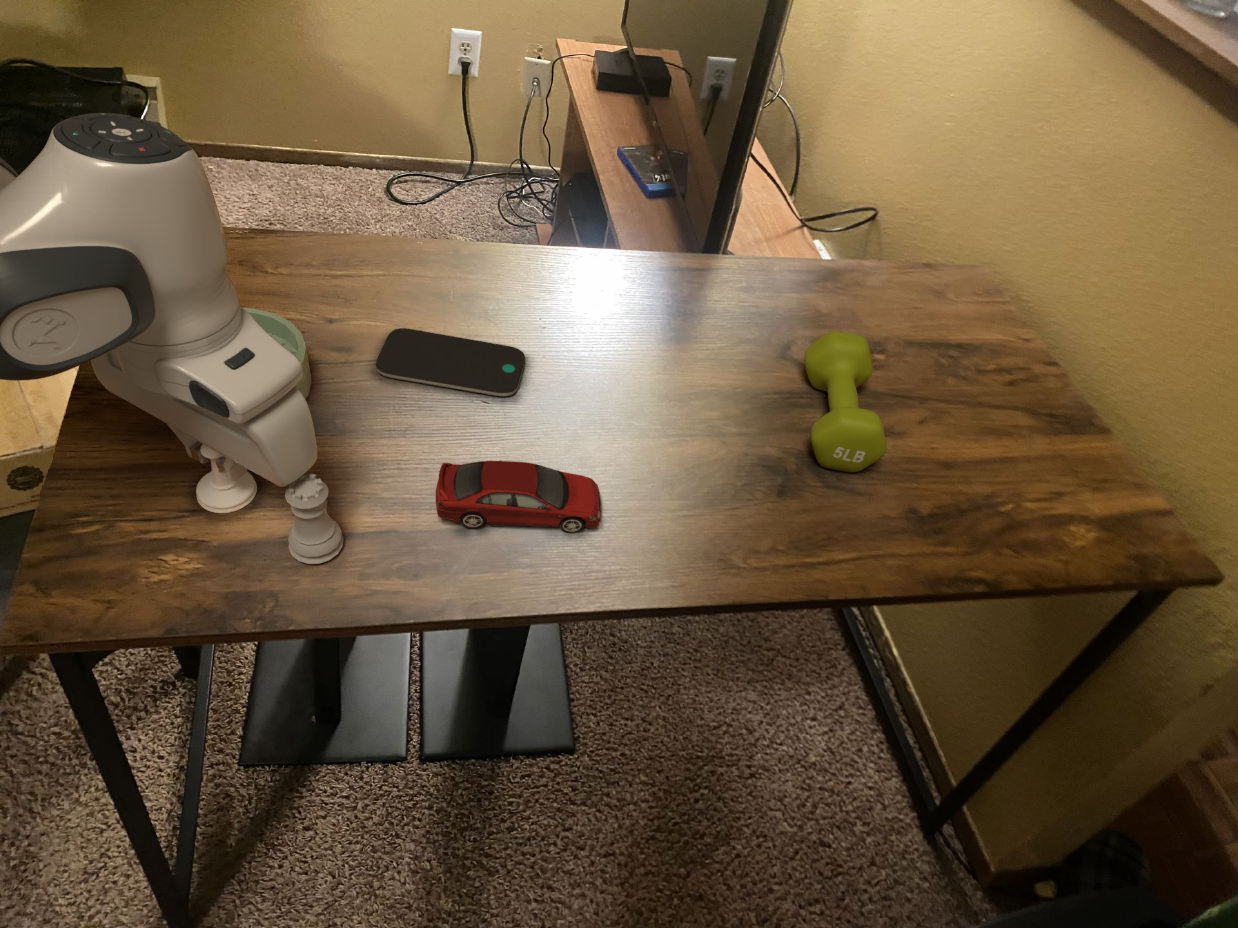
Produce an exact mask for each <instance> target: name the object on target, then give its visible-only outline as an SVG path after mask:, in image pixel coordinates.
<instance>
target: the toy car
mask: <svg viewBox="0 0 1238 928" xmlns="http://www.w3.org/2000/svg"><path fill="white" fill-rule="evenodd" d="M598 485H599V484H598V483H596V482H595V480H594V479H593V478H591V477H589V476H585V475H581V474H577V473H571V472H566V471H561V470H557V469H554V468H550V467H547V466H543V465H540V464H537V463H532V462H526V461H513V460H512V461H511V460H482V461H480V460H479V461H474V462H468V463H463V464H462V463H461V464H459V463H458V464H457V463H450V462H442V464H441V465H440V469H439V471H438V479H437V482H436V487H435V506H436V513H437V516H438V518H439V519H444V520H445V519H446V520H450V521H455V522H459V521H460V523H461V525H462V526H463V527H465V528H468V529H478V528H481V527H483V526H484V525H485V522H486V524H487V525H488V524H489V525H507V526H508V525H509V526H510V525H511V526H531V527H532V526H533V527H550V528H552V527H554V528H559V527H560V529H561V531H563V532H564V533H568V534H575V533H578V532H580V531H582V530H583V529H584V527H585V529H597V528H599V525H600V522H601V517H602V499H601V492H600V489H599V486H598Z"/></svg>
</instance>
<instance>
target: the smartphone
mask: <svg viewBox="0 0 1238 928" xmlns="http://www.w3.org/2000/svg"><path fill="white" fill-rule="evenodd" d="M525 362H526V355H525V353H524V351H522V350H521V349H519V348H517V347H515V346H510V345H505V344H499V343H494V342H487V341H483V340H476V339H471V338H465V337H459V336H453V335H448V334H447V335H446V334H441V333H436V332H431V331H424V330H419V329H414V328H405V327H401V328H395V329H393V330H392V331H390V332H389V334H387V336H386V338H385V341H384V343H383V345H382V347H381V350H380V352H379V354H378V355H377V358H376V362H375V369H376V372H377V373H378V374H380V375H381V376H383V377H386V378H388V379H389V378H390V379H395V380H401V381H406V382H412V383H417V384H423V385H429V386H436V387H441V388H448V389H453V390H458V391H465V392H470V393H471V392H472V393H476V394H482V395H488V396H493V397H510V396H513V395H514V394H516V393H517V391H518V389H519V386H520V383H521V379H522V375H523V371H524V367H525Z"/></svg>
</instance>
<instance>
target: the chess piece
mask: <svg viewBox="0 0 1238 928" xmlns="http://www.w3.org/2000/svg"><path fill="white" fill-rule="evenodd" d="M200 451H201V454H202V455H203V456H204V457H206V458H210V459H209V460H210V467H211V471H209V472H207V474H205V475H203V476H202V477H201V478H200V480H199V481H198V483H197V485H196V487H195V489H196V490H195V494H196V500H197V503H198V504H199V505H200V506H201V508H203V509H204V510H206V511H208V512H211V513H216V514H227V513H234V512H236V511H239V510H241V509H243V508H245V507H246V506H248V505H249V504H251V502H252V501H253V500H254V498H255V497H256V495H257V491H258V486H257V485H258V484H257V482H256V480H255V478H254V476H253V475H252V474H251V473H250V472H249V471H247V472H246V473H245V474H244V475H243V476H241V477H240V478H239V479H238V480H236V481H232V480H230V479H228V478H226V477H225V476H223V475H221V474H220V473H219V472H218V470H219V469H218V468H217V465H216V461H218V460H219V459H220V458H221V457H224V456H222V455H221V454H220V453H219V452H217V451H215V450H213V449H212V448H210V447H208V446H206V445H204V444H202V446H201V450H200Z"/></svg>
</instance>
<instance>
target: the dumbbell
mask: <svg viewBox="0 0 1238 928" xmlns="http://www.w3.org/2000/svg"><path fill="white" fill-rule="evenodd" d="M803 357H804V358H803V360H804V366H805V371H806V374H807V378H808V381H809V383H810V385H811V386H812V387H813V389H816V390H819V391H823V392H827V400H828V407H829V412H827V413H825V414H824V415H822V417H820V418H819V419H818V420H816V421H815V422H814V423H813V425H812V426H811V428H810V442H811V447H812V451H813V454H814V457H815V460H816V461H817V464H818V465H819V466H820V467H822V468H825V469H829V470H833V471H834V470H835V471H839V472H846V473H857V472H860V471H863V470H865V469H866V468H868V467H870V466H871V465H873V464H874V463H876V462H877V461H879V460H881V459H882V458H883V457H884V456H885V454H886V453H887V449H888V448H887V446H888V445H887V439H886V433H885V429H884V426H883V422H882V419H881V418H880V415H879V414H877V413H876V412H875V411H873V410H870V409H866V408H861V407H860V406H859V402H860V401H859V394H858V390H857V388H858V387H860V386H861V385H862V384H864V383H866V382H867V381H868V380H869V379H870V378H871V377H872V376H873V372H874V364H873V358H872V353H871V350H870V345H869V342H868V339H867V338H866V337H865V336H863V335H861V334H857V333H852V332H848V331H847V332H846V331H841V330H832V331H829V332H826V333H824V334H823V335H822V336H821V337H819V338H818V339H816V340H814V342H812V343H811V344H810V345H809V346H808V347H807V348H806V349H805V351H804V354H803Z"/></svg>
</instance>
